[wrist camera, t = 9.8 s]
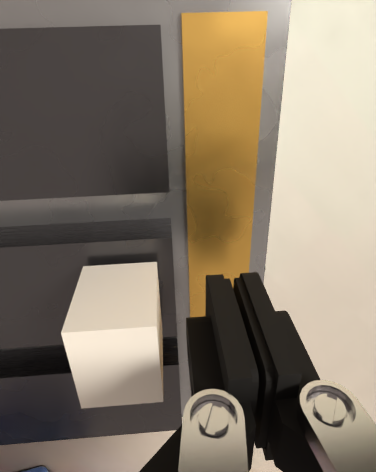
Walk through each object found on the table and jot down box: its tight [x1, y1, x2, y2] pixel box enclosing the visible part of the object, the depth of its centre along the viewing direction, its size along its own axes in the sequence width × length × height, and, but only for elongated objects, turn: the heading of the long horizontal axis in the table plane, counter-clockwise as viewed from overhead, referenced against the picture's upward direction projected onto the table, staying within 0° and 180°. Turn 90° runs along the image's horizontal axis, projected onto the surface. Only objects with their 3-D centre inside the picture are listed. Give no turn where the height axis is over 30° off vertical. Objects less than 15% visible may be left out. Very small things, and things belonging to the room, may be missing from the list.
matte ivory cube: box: [61, 262, 163, 409], centre depth 11 cm, size 2×3×3 cm
